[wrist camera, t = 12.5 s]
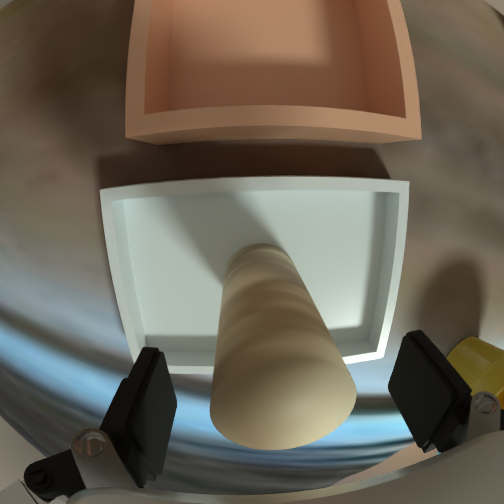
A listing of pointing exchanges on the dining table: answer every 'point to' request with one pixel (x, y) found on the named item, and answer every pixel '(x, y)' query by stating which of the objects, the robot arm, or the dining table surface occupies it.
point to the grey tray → (247, 233)
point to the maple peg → (275, 357)
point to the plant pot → (480, 366)
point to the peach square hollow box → (270, 71)
